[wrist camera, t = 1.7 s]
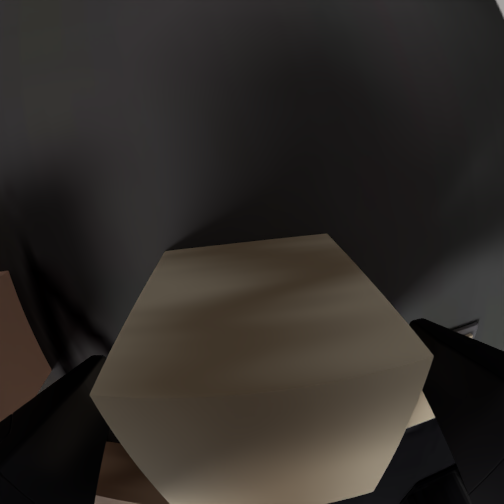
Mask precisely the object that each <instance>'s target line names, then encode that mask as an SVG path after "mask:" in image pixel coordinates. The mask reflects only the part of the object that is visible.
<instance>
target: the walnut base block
mask: <svg viewBox="0 0 504 504" xmlns="http://www.w3.org/2000/svg"><path fill="white" fill-rule="evenodd" d="M94 504H170V503H169V502H168V501H167V500H166V499H165V498H164V497H163V496H162V495H161V494H160V492H159V491H158V490H157V489H156V488H155V487H154V486H153V484H152V483H151V482H150V481H149V480H148V478H147V477H146V476H145V475H144V474H143V472H142V471H141V470H140V469H139V467H138V466H137V465H136V463H135V462H134V461H133V460H132V458H131V457H130V456H129V454H128V453H127V452H126V450H125V449H124V447H123V446H122V445H121V443H114V442H107V441H106V445H105V449H104V454H103V459H102V464H101V469H100V474H99V480H98V485H97V491H96V497H95V503H94Z"/></svg>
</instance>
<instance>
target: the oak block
mask: <svg viewBox="0 0 504 504" xmlns="http://www.w3.org/2000/svg"><path fill="white" fill-rule="evenodd" d="M433 357H434V356H433V354H432V353H431V352H430V350H429V349H428V348H427V347H426V345H425V344H424V343H423V342H422V340H421V339H420V338H419V337H418V336H417V334H416V333H415V332H414V331H413V329H412V328H411V327H410V326H409V325H408V323H407V322H406V321H405V320H404V319H403V317H402V316H401V315H400V314H399V313H398V312H397V310H396V309H395V308H394V307H393V306H392V305H391V303H390V302H389V301H388V300H387V299H386V298H385V296H384V295H383V294H382V293H381V292H380V291H379V290H378V288H377V287H376V286H375V285H374V284H373V283H372V282H371V281H370V279H369V278H368V277H367V276H366V275H365V274H364V273H363V272H362V271H361V269H360V268H359V267H358V266H357V265H356V264H355V263H354V262H353V261H352V260H351V259H350V257H349V256H348V255H347V254H346V253H345V252H344V251H343V250H342V249H341V248H340V247H339V246H338V245H337V244H336V242H335V241H334V240H333V239H332V238H331V237H330V236H329V235H328V234H327V233H326V234H317V235H307V236H297V237H288V238H279V239H269V240H260V241H251V242H242V243H232V244H223V245H214V246H206V247H197V248H188V249H179V250H171V251H165V252H164V254H163V256H162V257H161V259H160V261H159V262H158V264H157V266H156V268H155V269H154V271H153V273H152V274H151V276H150V278H149V280H148V281H147V283H146V285H145V287H144V289H143V290H142V292H141V294H140V296H139V298H138V299H137V301H136V303H135V305H134V307H133V309H132V310H131V312H130V314H129V316H128V318H127V320H126V322H125V324H124V325H123V327H122V329H121V331H120V333H119V335H118V337H117V339H116V341H115V343H114V345H113V347H112V349H111V351H110V353H109V355H108V357H107V359H106V361H105V363H104V365H103V367H102V369H101V371H100V373H99V375H98V378H97V380H96V382H95V384H94V386H93V388H92V390H91V393H90V397H91V398H92V400H93V402H94V403H95V405H96V407H97V408H98V410H99V412H100V413H101V415H102V416H103V418H104V420H105V421H106V423H107V424H108V426H109V427H110V429H111V430H112V432H113V433H114V435H115V436H116V438H117V439H118V440H119V442H120V443H121V445H122V446H123V447H124V449H125V450H126V452H127V453H128V454H129V456H130V457H131V458H132V460H133V461H134V462H135V463H136V465H137V466H138V467H139V469H140V470H141V471H142V472H143V474H144V475H145V476H146V477H147V478H148V480H149V481H150V482H151V483H152V484H153V486H154V487H155V488H156V489H157V490H158V491H159V492H160V494H161V495H162V496H163V497H164V498H165V499H166V500H167V501H168V502H169V503H170V504H327V503H331V502H336V501H340V500H344V499H348V498H352V497H356V496H360V495H363V494H367V493H370V492H373V491H374V489H375V488H376V486H377V484H378V482H379V481H380V479H381V477H382V475H383V474H384V472H385V470H386V468H387V466H388V465H389V463H390V461H391V459H392V457H393V455H394V453H395V451H396V449H397V447H398V445H399V443H400V441H401V439H402V437H403V435H404V432H405V430H406V428H407V426H408V424H409V421H410V419H411V417H412V414H413V412H414V409H415V407H416V405H417V402H418V400H419V397H420V394H421V392H422V389H423V386H424V384H425V381H426V378H427V375H428V372H429V369H430V366H431V363H432V360H433Z"/></svg>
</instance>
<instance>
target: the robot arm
mask: <svg viewBox="0 0 504 504" xmlns="http://www.w3.org/2000/svg"><path fill="white" fill-rule="evenodd" d="M409 326H410V327H411V328H412V329H413V331H414V332H415V333H416V334H417V336H418V337H419V338H420V339H421V340H422V342H423V343H424V344H425V345H426V347H427V348H428V349H429V350H430V352H431V353H432V354H433V356H434V357H433V360H432V363H431V366H430V369H429V372H428V375H427V378H426V381H425V384H424V386H423V389H422V391H423V393H424V395H425V397H426V399H427V401H428V403H429V405H430V407H431V409H432V412H433V414H434V416H435V418H436V420H437V422H438V424H439V426H440V428H441V430H442V433H443V435H444V437H445V439H446V441H447V444H448V446H449V448H450V450H451V453H452V455H453V457H454V460H455V462H456V464H457V466H455V467H453V468H451V469H449V470H447V471H445V472H442V473H440V474H438V475H436V476H434V477H432V478H429V479H427V480H425V481H422V482H420V483H418V484H416V485H415V486H414V487H413V489H412V490H411V491H410V492H409V493H408V495H407V496H406V497H405V498H404V499H403V500H402V502H401V503H400V504H504V351H502V350H499V349H497V348H494V347H492V346H489V345H487V344H485V343H482V342H480V341H477V340H475V339H472V338H470V337H468V336H465V335H463V334H460V333H458V332H455V331H453V330H450V329H448V328H446V327H443V326H441V325H438V324H436V323H433V322H431V321H429V320H426V319H423V318H421V319H417V320H413V321H411V322H410V324H409ZM106 359H107V358H106V357H105V356H103V355H93V356H91V357H89V358H88V359H86V360H85V361H84V362H82V363H81V364H80V365H78V366H77V367H75V368H74V369H73V370H71V371H70V372H68V373H67V374H66V375H64V376H63V377H61V378H60V379H59V380H57V381H56V382H54V383H53V384H52V385H50V386H49V387H48V388H46V389H45V390H43V391H42V392H41V393H39V394H38V395H36V396H35V397H34V398H32V399H31V400H30V401H28V402H27V403H25V404H24V405H23V406H21V407H20V408H19V409H17V410H16V411H14V412H13V414H10V415H9V416H7V417H6V418H5V419H3V420H2V421H1V422H0V504H94V503H95V497H96V491H97V485H98V480H99V474H100V469H101V464H102V459H103V454H104V449H105V445H106V440H107V436H108V431H109V426H108V424H107V423H106V421H105V420H104V418H103V416H102V415H101V413H100V412H99V410H98V408H97V407H96V405H95V403H94V402H93V400H92V398H91V397H90V393H91V390H92V388H93V386H94V384H95V382H96V380H97V378H98V375H99V373H100V371H101V369H102V367H103V365H104V363H105V361H106Z"/></svg>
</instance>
